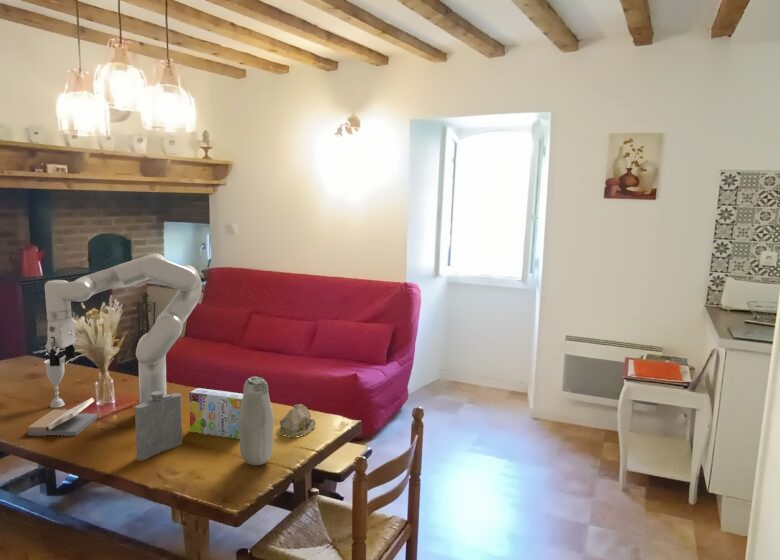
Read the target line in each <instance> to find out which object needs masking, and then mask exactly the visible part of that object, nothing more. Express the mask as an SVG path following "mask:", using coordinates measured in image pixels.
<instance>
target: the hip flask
mask: <svg viewBox="0 0 780 560" xmlns="http://www.w3.org/2000/svg"><path fill="white" fill-rule="evenodd" d="M162 395H163V392H162V391H155V392H152V393H151V396H152V400H149V401H146V402H144V403H141V404H140V403H139V404H136V405H135V406H134V417H135V420H134V421H135V446H136V448H135V449H136V460H137V461H138V462H140V461H141V460H142V461H146V460H148V459H149V457H150V458H152V457H154V456H155V454H156V455H158V454H160V452H161V453H163V452H165V450H166V451H168V450H171V449H174V448H177V447H176V446H178V447H180V445H181V446H182V445H183V421H182V420H183V418H182V394H181V393H178V392H177V393H170V394H167V395H164V396H162ZM173 447H174V448H173ZM170 448H171V449H170ZM162 451H163V452H162ZM153 455H154V456H153ZM151 456H152V457H151ZM147 458H148V459H147ZM145 459H146V460H145ZM142 461H141V462H142Z"/></svg>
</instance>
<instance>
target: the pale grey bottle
mask: <svg viewBox="0 0 780 560" xmlns="http://www.w3.org/2000/svg"><path fill="white" fill-rule="evenodd" d="M242 389H243V392H242V394H243V400H242V404H241V409H240V414H239V432H240V440H239V452H240V455H241V457H242V459H243V461H244V462H245V463H246V464H249V465H251V466H261V465H264V464H266V463H267V462H268V461H269V459H270V458H271V456H272V453H273V448H274V411H273V407H272V402H271V399H270V393H269V384H268V382H267V381H266V379H264V378H263V377H259V376H251V377H249V378H247V379H246V380H245V382H244V384H243V388H242Z"/></svg>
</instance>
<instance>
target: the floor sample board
mask: <svg viewBox="0 0 780 560" xmlns="http://www.w3.org/2000/svg"><path fill="white" fill-rule="evenodd" d="M69 410H70V409H52V410H50V411H49V412H48V413H46V414H45V415H43V416H42V417H40V418H39V419H37V420H36V421H34V422H33V423H32V424H30V425H29V426H27V434H28V435H29V436H30V435H31V436H43V437H45V436H46V435H58V436H59V435H61V437H66V436H67V437H76V436H78V435H79V434H81V433H82V431H84V430H85V429H86V428H87V427H89V426H90V425H91V424H93V422H95V421H96V420H97V419H98V418H99V414H98V413H78V414H77V415H75V416H74V417H72V418H71V419H69V420H67V421H65V422H63V423H61V424H59V425H58V426H56V427H54V428H52V429H50V430H49V428H48V427H47V426H48V425H50V424H51V423H52V422H54V421H55V420H56V419H58V418H59V417H60V416H62V415H63V414H65V413H66V412H67V411H69ZM97 417H98V418H97ZM28 435H27V436H28ZM63 435H64V436H63ZM58 436H57V437H58ZM46 437H47V436H46Z"/></svg>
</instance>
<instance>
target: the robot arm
mask: <svg viewBox="0 0 780 560" xmlns="http://www.w3.org/2000/svg"><path fill="white" fill-rule="evenodd" d="M148 280H152V281H154V282H155V283H159V284H161V285H165V286H168V287H170V288H173V289H175V290H177V291H176V293H175V295H173V297H172V299H170V302H169V303H168V304H167V306H166V307H165V308H164V309H163V310H162V311H161V313H159V314H158V316H157V317H156V320H155V323H154V324H153V326H152V327H151V328H150V330H148V332H147V333H145V334H143V335H142V336H141V337H140V338H139V340H138V342H137V346H136V348H135V356H136V359H137V360H138V386H139V387H138V388H139V389H138V390H139V391H138V392H139V404H141V403H144V402H146V401H149V400H152V396H151V393H152V392H155V391H162V392H163V395H162V396H164V395H168V394H167V361H166V360H167V358H166V357H167V353H168V352H169V351H170V349H172V346H173V345H174V344H175V343H176V341H177V340H178V339H179V338H180V336H181V334H182V331H183V327H184V323H185V322H186V320H187V319H188V318H189V317H190V315H191V314H192V312H193V310H194V309H195V308H196V306H197V304H198V303H199V301H200V299H201V295H202V291H203V284H202V279H201V276H200V275H199V272H198V270H197V268H195V267H194V266H192V265H189V264H183V265H179V264H177V263H175V262H172V261H169V260H167V259H166V257H165V256H163V255H162V254H161V253H151V254H148V255H144V256H141V257H139V258H135V259H132V260H130V261H126V262H123V263H118V264H117V265H114V266H111V267H109V268H106V269H102V270H99V271H95V272H93V273H89V274H86V275H83V276H81V277H79V278H76V279H75V280H73V281H68V280H66V279H53V280H48V281H46V282H45V283H44V293H45V294H44V295H45V308H46V320H47V334H46V335H47V343H46V344H45V345H44V347H45V350H46V352H47V355H48V358H49V359H50V366H60V354H59V352H60V349H64V350H65V351H64V352H65V358H66V359H74V358H76V349H75V346H76V344H75V343H76V341H77V333H76V328H75V323H74V319H73V316H72V305H71V304H72V302H85V301H87V300H89V299H91V297H92V296H94V295H96V294H98V293H101V292H105V291H107V290H111V289H114V288H115V289H116V288H126V287H127V288H128V287H131V286H133V285H137V284H139V283H142V282H144V281H148ZM75 333H76V334H75Z"/></svg>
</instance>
